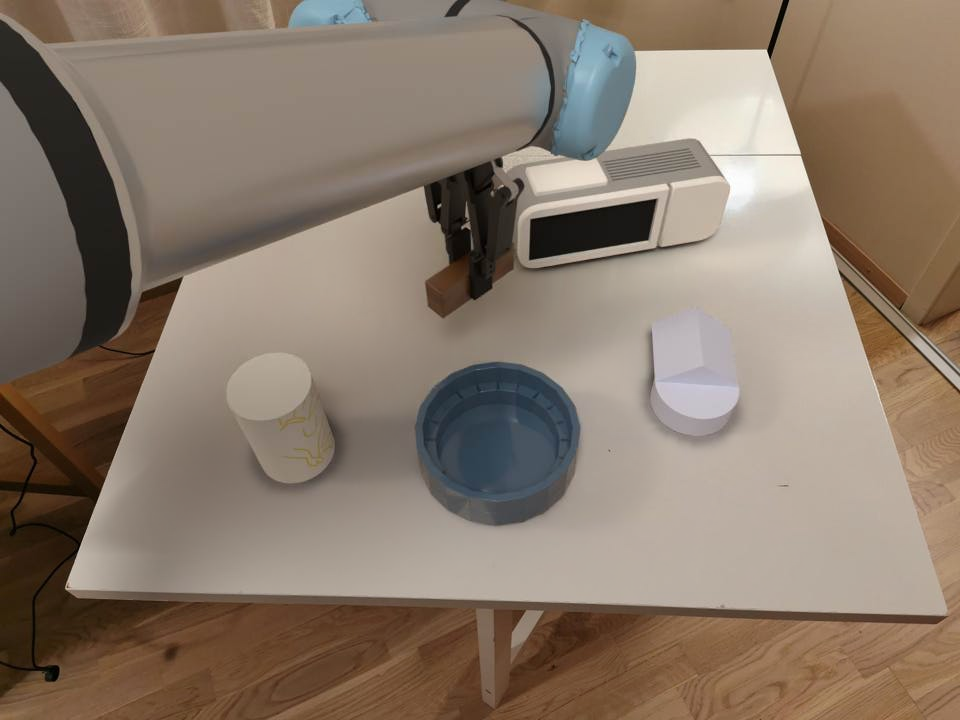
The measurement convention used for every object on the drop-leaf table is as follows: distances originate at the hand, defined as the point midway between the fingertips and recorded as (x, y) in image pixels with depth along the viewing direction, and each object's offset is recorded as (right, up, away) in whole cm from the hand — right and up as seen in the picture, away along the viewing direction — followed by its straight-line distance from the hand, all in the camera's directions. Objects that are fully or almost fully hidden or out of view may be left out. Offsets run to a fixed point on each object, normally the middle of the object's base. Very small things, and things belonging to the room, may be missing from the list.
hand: (471, 285), depth 79 cm
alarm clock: (+18, +8, +18) cm, 27 cm away
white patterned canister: (-19, -18, -2) cm, 27 cm away
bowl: (+3, -19, -3) cm, 19 cm away
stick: (0, 0, 0) cm, 0 cm away
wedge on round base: (+25, -12, +2) cm, 28 cm away
